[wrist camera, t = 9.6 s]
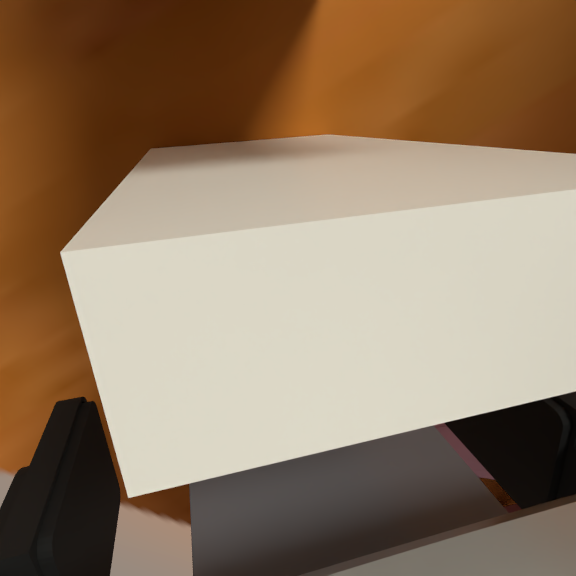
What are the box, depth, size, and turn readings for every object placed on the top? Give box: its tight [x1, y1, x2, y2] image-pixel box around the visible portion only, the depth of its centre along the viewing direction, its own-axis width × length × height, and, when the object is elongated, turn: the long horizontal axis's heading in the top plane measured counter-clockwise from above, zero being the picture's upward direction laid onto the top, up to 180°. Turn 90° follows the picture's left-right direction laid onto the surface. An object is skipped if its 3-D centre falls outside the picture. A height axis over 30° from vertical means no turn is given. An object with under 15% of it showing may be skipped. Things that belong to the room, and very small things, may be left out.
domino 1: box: [60, 134, 576, 498], centre depth 8 cm, size 2×5×10 cm, turn 94°
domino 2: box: [189, 425, 508, 576], centre depth 10 cm, size 2×5×10 cm, turn 93°
